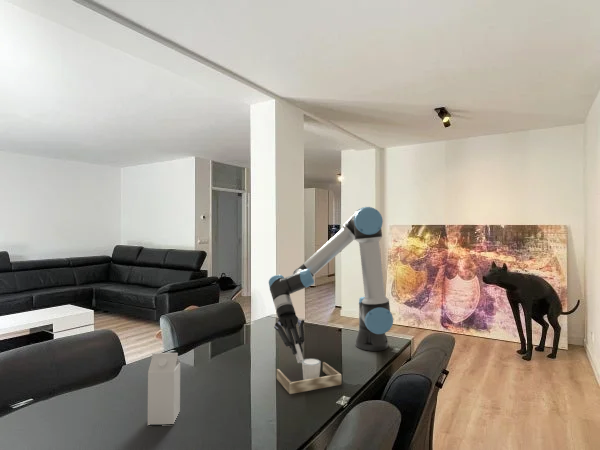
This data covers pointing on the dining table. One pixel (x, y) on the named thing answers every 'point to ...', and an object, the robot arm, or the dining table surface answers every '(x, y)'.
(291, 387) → the bay
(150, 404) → the milk carton
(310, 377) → the white cup
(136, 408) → the dining table surface
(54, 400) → the dining table surface
